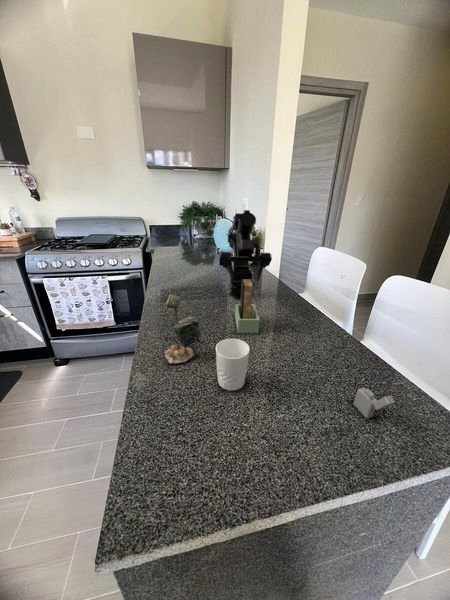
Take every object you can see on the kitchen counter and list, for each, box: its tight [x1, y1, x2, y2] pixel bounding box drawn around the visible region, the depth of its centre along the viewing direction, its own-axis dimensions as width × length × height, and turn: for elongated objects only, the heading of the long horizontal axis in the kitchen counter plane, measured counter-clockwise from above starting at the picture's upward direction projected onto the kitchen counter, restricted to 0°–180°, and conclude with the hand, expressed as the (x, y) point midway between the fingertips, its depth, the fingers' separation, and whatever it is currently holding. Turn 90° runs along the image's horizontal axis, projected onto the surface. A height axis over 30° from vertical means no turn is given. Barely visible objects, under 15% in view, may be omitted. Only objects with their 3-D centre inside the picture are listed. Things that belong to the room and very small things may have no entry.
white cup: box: [215, 338, 251, 391], centre depth 60 cm, size 8×8×10 cm
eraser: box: [239, 279, 253, 319], centre depth 84 cm, size 3×6×15 cm, turn 1°
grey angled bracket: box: [352, 387, 396, 419], centre depth 52 cm, size 7×2×8 cm, turn 15°
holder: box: [234, 303, 261, 334], centre depth 86 cm, size 11×7×5 cm, turn 2°
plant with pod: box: [163, 293, 203, 365], centre depth 67 cm, size 8×11×20 cm
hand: (245, 280), depth 89 cm, fingers open, 9 cm apart
